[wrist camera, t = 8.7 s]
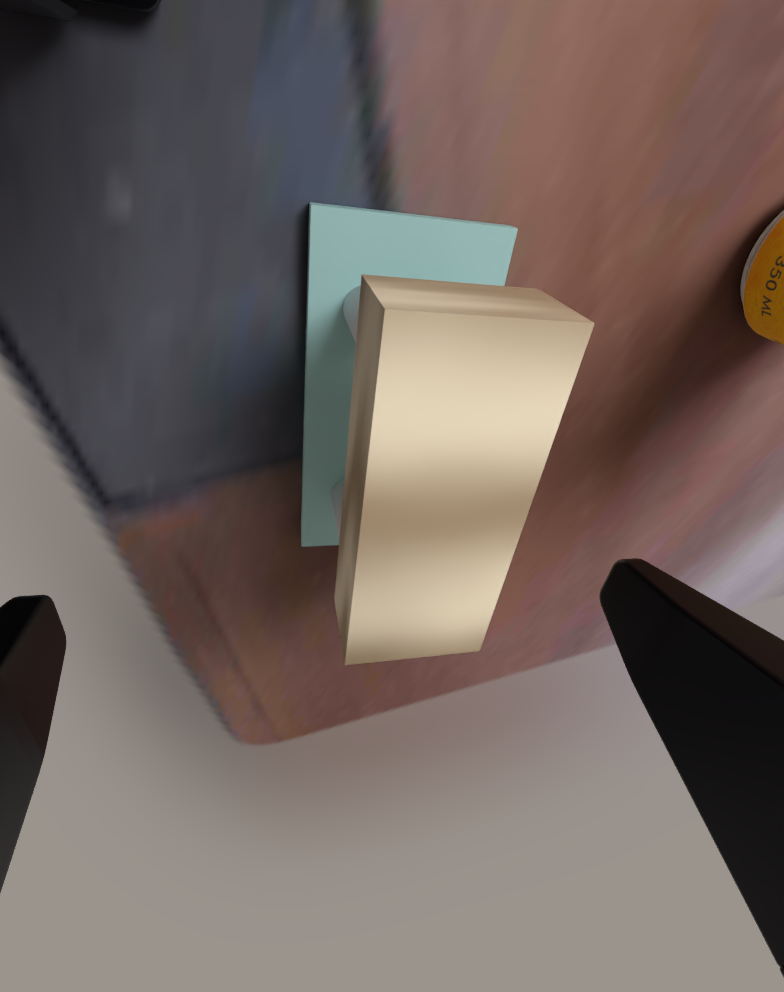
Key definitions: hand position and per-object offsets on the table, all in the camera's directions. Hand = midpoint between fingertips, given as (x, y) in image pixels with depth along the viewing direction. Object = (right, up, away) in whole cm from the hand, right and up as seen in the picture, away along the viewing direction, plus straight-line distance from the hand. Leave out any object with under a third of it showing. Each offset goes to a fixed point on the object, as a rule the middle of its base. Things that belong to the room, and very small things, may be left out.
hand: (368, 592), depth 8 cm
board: (+1, +2, +9) cm, 9 cm away
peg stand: (0, +5, +13) cm, 14 cm away
